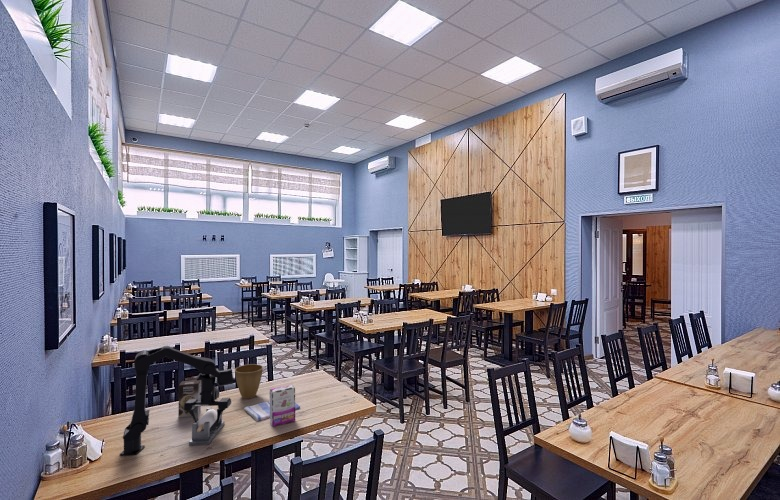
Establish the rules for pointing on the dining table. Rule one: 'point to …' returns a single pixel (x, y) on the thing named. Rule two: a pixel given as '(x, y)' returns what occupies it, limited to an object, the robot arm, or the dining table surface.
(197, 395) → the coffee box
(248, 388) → the plant pot
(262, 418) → the dish towel
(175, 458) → the dining table surface
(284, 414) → the candy bar box
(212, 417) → the paper roll
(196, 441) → the roll holder
